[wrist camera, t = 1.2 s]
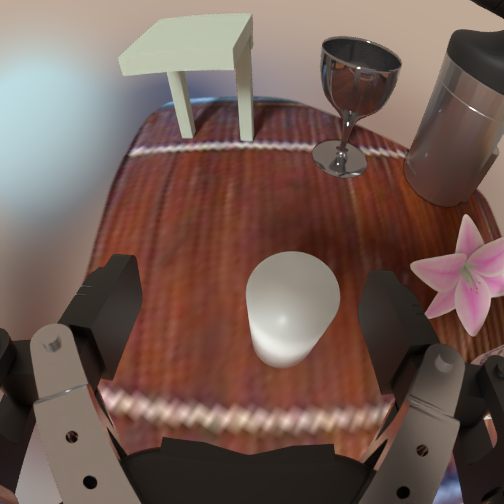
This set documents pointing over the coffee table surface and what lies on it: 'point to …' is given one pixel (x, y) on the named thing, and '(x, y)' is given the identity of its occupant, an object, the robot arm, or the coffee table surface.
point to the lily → (465, 277)
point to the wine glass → (353, 96)
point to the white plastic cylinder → (290, 306)
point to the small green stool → (197, 59)
